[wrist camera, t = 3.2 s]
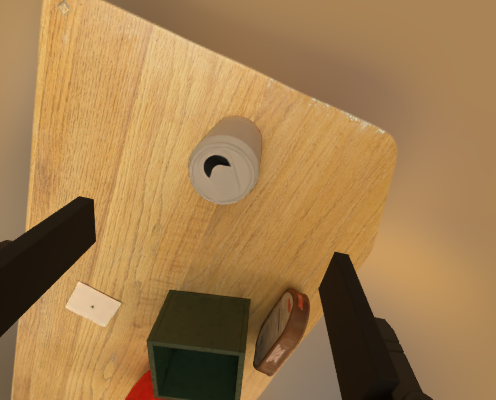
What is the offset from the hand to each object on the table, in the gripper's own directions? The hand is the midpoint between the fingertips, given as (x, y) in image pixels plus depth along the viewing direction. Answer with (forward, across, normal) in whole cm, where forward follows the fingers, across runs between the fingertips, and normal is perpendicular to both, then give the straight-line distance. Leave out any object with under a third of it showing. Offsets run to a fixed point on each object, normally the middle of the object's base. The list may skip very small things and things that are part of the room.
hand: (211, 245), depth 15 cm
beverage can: (+22, -1, 0) cm, 22 cm away
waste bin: (+22, 0, -33) cm, 39 cm away
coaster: (+22, -21, -35) cm, 46 cm away
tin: (+22, +11, -26) cm, 36 cm away
